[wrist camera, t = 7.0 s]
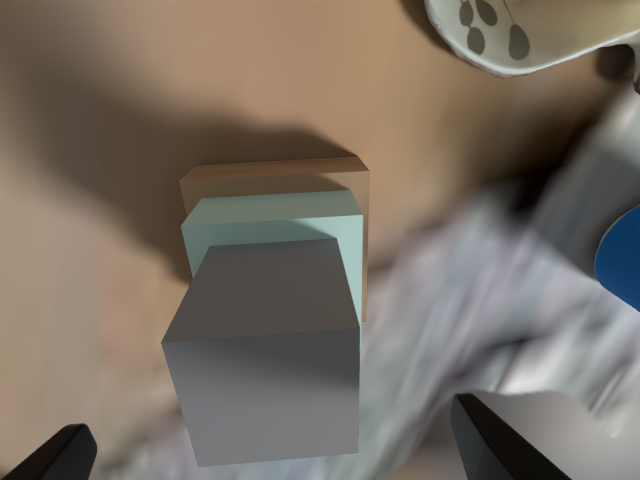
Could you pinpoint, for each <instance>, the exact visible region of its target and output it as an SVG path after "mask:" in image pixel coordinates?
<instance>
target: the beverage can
mask: <svg viewBox="0 0 640 480" xmlns="http://www.w3.org/2000/svg"><path fill="white" fill-rule="evenodd" d="M594 269H595V274H596V277H597V279H598V281H599V282H600V284H601V285H602V286H603V287H604V288H605V289H607V290H608V291H610V292H611V293H613V294H614V295H616V296H617V297H619V298H620V299H622V300H623V301H625V302H626V303H627V304H629V305H630V306H632V307H633V308H635V309H636V310H638V311H639V312H640V204H639V205H638V206H636V207H634V208H633V209H631V210H630V211H628V212H626V213H625V214H623V215H622V216H620V217H619V218H618V219H617V220H616V221H615V222H614V223H613V224H612V225H611V226H610V227H609V228H608V229H607V231H606V232H605V233H604V235H603V237H602V239H601V241H600V243H599V246H598V249H597V252H596V256H595V262H594Z"/></svg>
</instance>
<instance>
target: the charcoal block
mask: <svg viewBox="0 0 640 480" xmlns="http://www.w3.org/2000/svg"><path fill="white" fill-rule="evenodd" d="M161 344H162V347H163V350H164V354H165V357H166V360H167V364H168V367H169V370H170V374H171V377H172V380H173V383H174V387H175V390H176V393H177V397H178V400H179V403H180V407H181V410H182V413H183V417H184V420H185V423H186V426H187V430H188V433H189V436H190V440H191V443H192V446H193V450H194V453H195V456H196V460H197V463H198V466H199V467H206V466H217V465H228V464H240V463H251V462H262V461H273V460H285V459H296V458H307V457H318V456H330V455H341V454H352V453H358V434H359V371H360V325H359V322H358V318H357V314H356V310H355V306H354V302H353V298H352V295H351V291H350V287H349V283H348V279H347V275H346V271H345V268H344V264H343V260H342V256H341V252H340V248H339V244H338V241H337V238H334V239H317V240H301V241H285V242H269V243H252V244H236V245H220V246H209V248H208V250H207V252H206V254H205V256H204V258H203V260H202V262H201V264H200V266H199V268H198V270H197V272H196V274H195V276H194V278H193V280H192V282H191V284H190V286H189V288H188V290H187V292H186V294H185V296H184V298H183V300H182V302H181V304H180V306H179V308H178V310H177V312H176V314H175V316H174V318H173V320H172V322H171V324H170V326H169V328H168V330H167V332H166V334H165V336H164V338H163V340H162V342H161Z"/></svg>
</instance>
